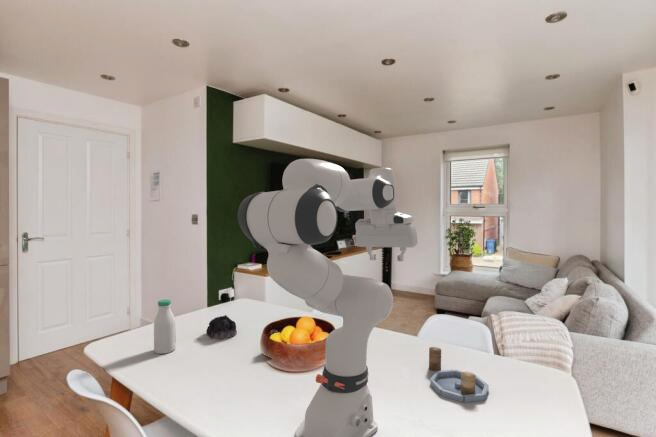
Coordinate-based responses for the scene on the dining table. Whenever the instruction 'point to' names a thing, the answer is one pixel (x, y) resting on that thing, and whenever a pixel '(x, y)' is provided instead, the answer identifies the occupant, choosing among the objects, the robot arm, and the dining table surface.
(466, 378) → the oak bead
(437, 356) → the walnut bead
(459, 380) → the ring tray
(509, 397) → the dining table surface
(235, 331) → the black rock
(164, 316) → the milk bottle
